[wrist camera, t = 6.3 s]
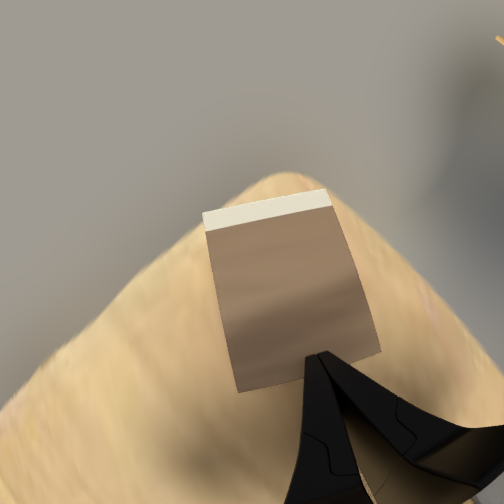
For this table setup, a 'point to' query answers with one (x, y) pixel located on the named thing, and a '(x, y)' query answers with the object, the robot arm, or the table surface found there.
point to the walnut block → (286, 287)
